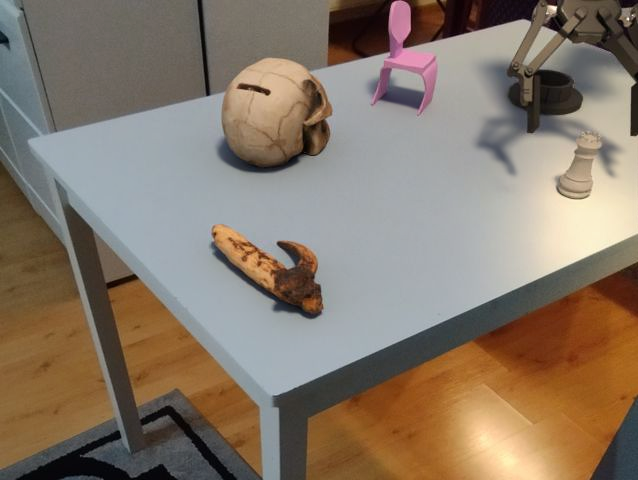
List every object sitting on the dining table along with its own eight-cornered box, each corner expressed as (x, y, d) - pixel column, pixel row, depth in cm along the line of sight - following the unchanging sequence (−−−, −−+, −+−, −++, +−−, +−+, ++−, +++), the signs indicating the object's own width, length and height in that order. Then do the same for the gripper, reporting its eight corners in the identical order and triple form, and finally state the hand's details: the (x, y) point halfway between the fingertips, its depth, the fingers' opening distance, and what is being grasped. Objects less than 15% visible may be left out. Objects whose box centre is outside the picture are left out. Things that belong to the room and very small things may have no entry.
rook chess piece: (571, 179, 94) (588, 124, 89) (597, 193, 92) (616, 138, 86) (549, 188, 92) (565, 132, 87) (575, 203, 90) (593, 146, 84)
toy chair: (419, 118, 108) (432, 17, 97) (368, 107, 110) (375, 7, 100) (436, 99, 113) (450, 1, 103) (387, 88, 116) (395, -8, 105)
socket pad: (570, 85, 118) (576, 65, 116) (590, 115, 110) (596, 94, 107) (502, 84, 118) (506, 63, 116) (515, 113, 110) (520, 92, 107)
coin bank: (326, 117, 107) (327, 31, 96) (340, 183, 95) (341, 95, 85) (226, 123, 106) (216, 37, 95) (227, 191, 94) (216, 102, 84)
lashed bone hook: (360, 297, 75) (258, 225, 84) (365, 262, 72) (258, 192, 81) (296, 332, 70) (195, 251, 79) (298, 296, 67) (193, 217, 76)
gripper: (668, -12, 92) (666, 143, 92) (485, -17, 92) (482, 138, 92) (699, -45, 85) (697, 123, 84) (500, -51, 85) (497, 117, 84)
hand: (585, 131), depth 88 cm, fingers open, 13 cm apart
